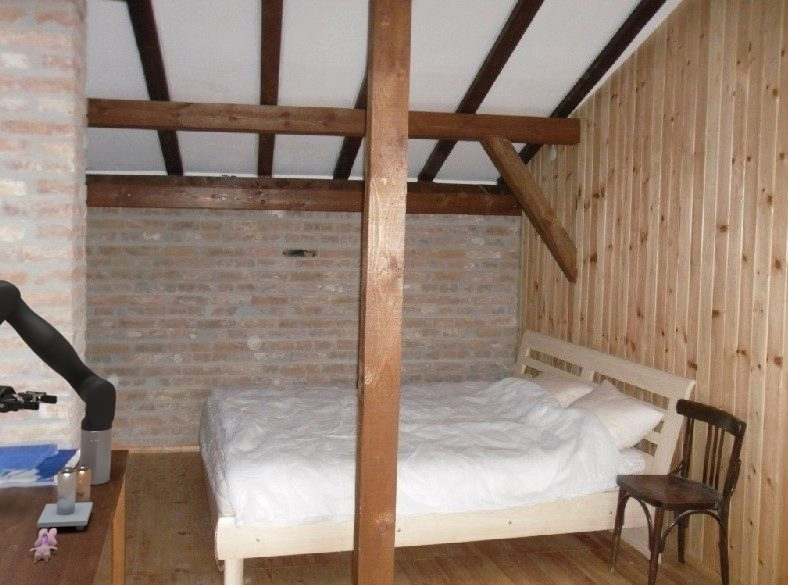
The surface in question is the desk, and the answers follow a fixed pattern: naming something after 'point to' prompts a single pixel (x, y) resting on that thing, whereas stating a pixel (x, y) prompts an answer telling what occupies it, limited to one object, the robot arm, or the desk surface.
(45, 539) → the rabbit figure
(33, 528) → the desk surface
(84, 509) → the grey square platform
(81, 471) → the copper canister
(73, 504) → the steel canister
